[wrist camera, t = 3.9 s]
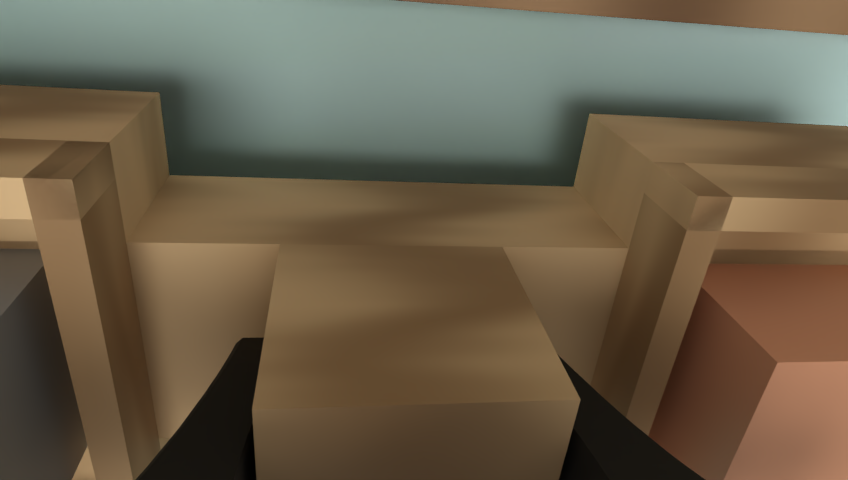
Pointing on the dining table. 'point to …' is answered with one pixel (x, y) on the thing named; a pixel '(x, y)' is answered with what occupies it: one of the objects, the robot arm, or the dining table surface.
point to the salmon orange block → (762, 376)
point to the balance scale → (393, 284)
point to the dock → (695, 11)
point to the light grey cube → (34, 378)
